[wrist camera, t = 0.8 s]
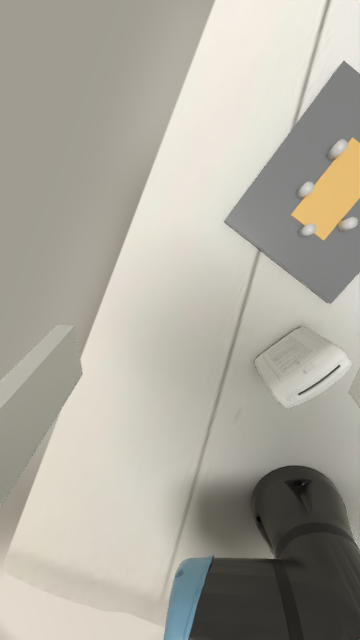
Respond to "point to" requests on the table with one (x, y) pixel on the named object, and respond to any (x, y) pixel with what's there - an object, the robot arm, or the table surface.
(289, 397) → the photo printer
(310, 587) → the robot arm
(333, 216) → the pin tray
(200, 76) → the table surface
